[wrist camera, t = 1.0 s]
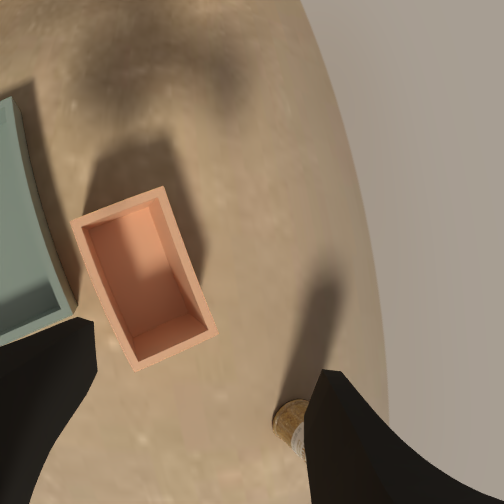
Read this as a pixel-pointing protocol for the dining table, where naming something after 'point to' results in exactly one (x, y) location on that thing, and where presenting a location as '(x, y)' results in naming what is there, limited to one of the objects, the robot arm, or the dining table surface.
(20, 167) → the base crate
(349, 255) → the dining table surface
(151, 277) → the small crate
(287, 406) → the sprinkles bottle
